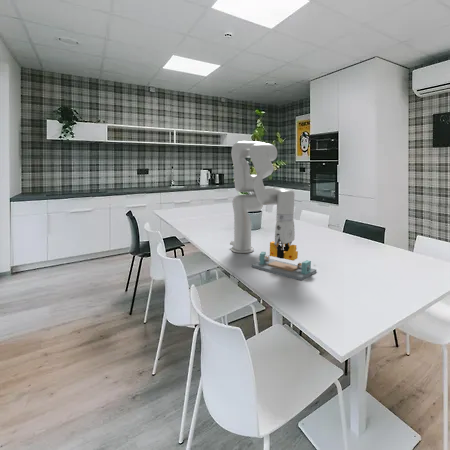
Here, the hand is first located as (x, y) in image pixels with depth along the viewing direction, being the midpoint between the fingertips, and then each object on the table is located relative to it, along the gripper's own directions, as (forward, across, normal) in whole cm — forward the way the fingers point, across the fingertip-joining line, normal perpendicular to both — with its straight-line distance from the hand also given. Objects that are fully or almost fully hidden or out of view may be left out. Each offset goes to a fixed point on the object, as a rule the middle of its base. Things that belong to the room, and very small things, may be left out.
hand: (283, 256), depth 141 cm
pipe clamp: (+1, 0, 0) cm, 1 cm away
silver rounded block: (+4, 0, -10) cm, 11 cm away
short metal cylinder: (+4, -1, +10) cm, 11 cm away
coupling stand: (+6, 0, 0) cm, 6 cm away
